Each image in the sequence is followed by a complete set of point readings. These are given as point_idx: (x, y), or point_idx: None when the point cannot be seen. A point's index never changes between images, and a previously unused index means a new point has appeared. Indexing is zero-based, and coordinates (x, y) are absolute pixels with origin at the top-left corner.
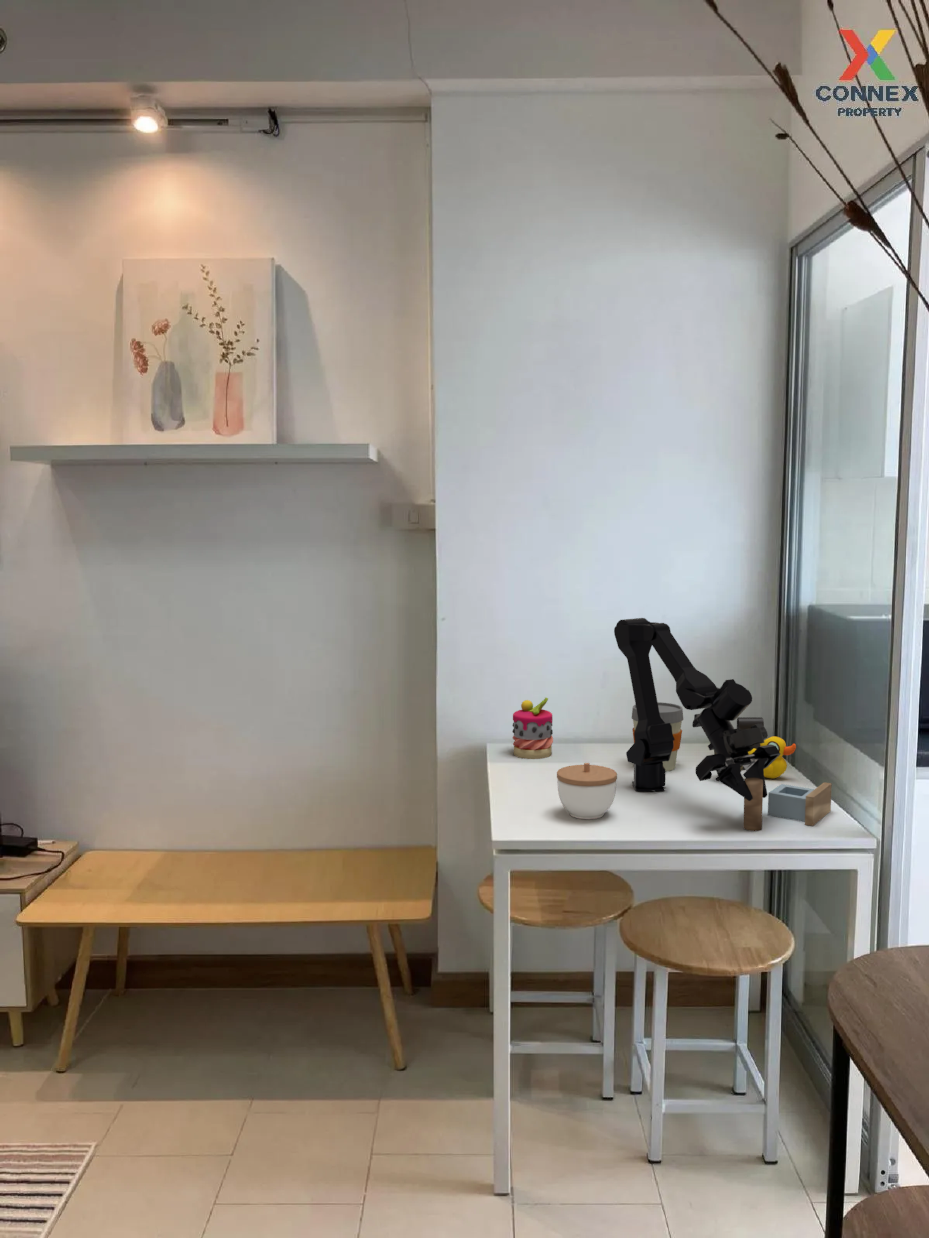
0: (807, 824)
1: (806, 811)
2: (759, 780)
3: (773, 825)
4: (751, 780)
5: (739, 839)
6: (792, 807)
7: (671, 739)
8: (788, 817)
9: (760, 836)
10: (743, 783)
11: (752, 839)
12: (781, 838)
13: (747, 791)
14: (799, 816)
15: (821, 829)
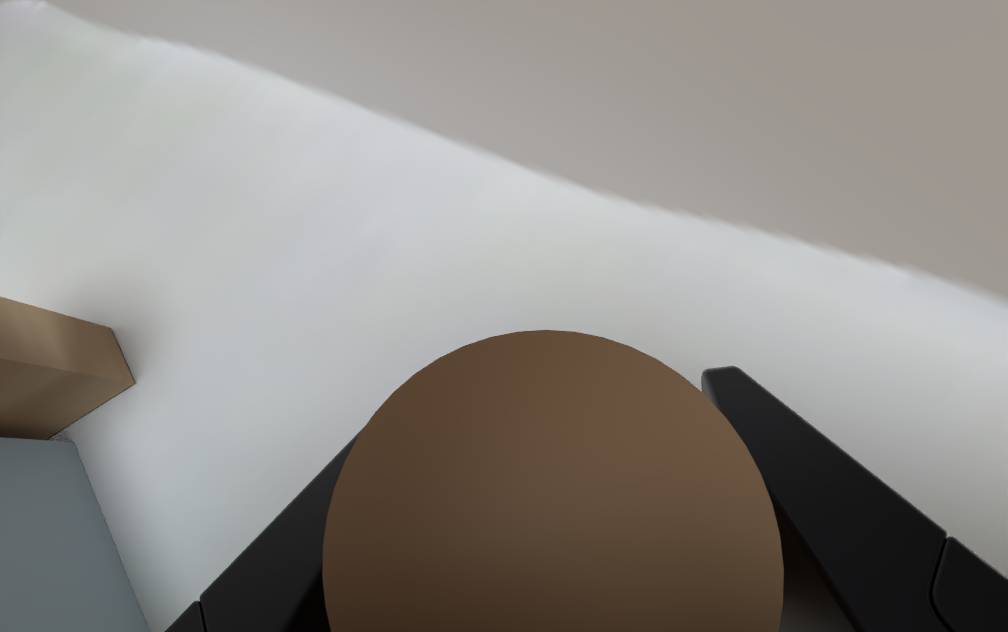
0: (122, 364)
1: (42, 356)
2: (439, 462)
3: None
4: (624, 545)
5: (912, 292)
6: (30, 561)
7: None
8: (122, 580)
9: (673, 286)
10: (887, 536)
11: (792, 248)
12: (538, 181)
13: (800, 424)
14: (66, 491)
15: (115, 241)
